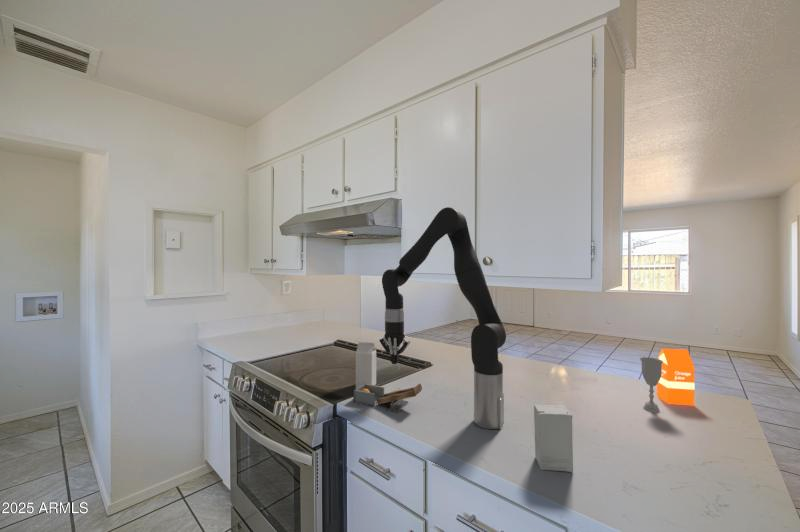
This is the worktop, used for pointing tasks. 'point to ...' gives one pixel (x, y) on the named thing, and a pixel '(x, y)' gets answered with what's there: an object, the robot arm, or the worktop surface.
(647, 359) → the chalice
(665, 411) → the worktop surface
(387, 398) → the lever
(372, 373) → the milk carton
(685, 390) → the orange juice
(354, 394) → the tray
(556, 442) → the skincare box
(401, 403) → the fulcrum
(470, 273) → the robot arm
